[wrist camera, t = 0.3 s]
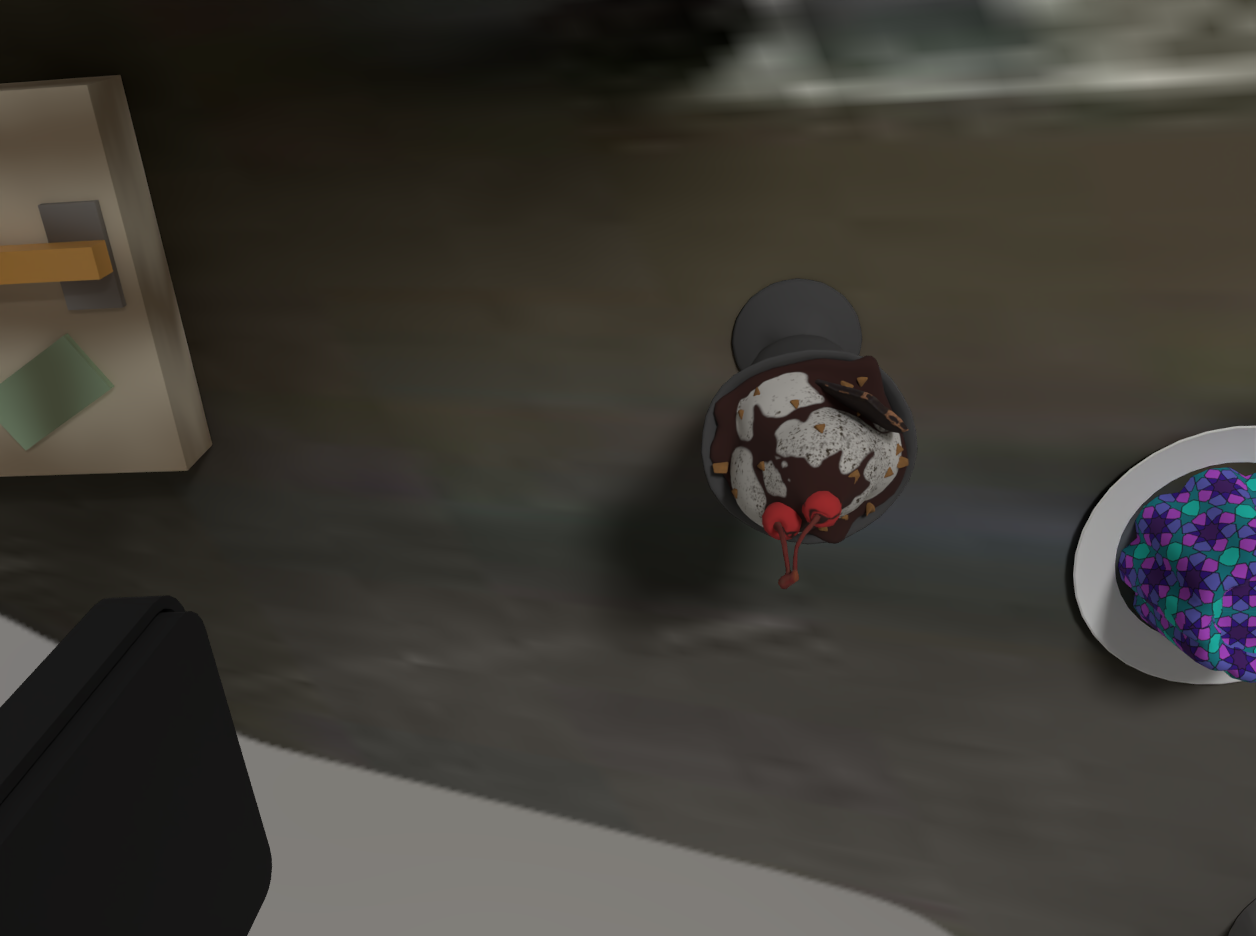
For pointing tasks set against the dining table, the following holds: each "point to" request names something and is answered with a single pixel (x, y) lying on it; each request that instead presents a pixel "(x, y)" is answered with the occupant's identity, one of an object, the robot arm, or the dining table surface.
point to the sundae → (806, 422)
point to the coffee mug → (1245, 922)
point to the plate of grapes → (1178, 563)
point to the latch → (54, 262)
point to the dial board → (88, 296)
